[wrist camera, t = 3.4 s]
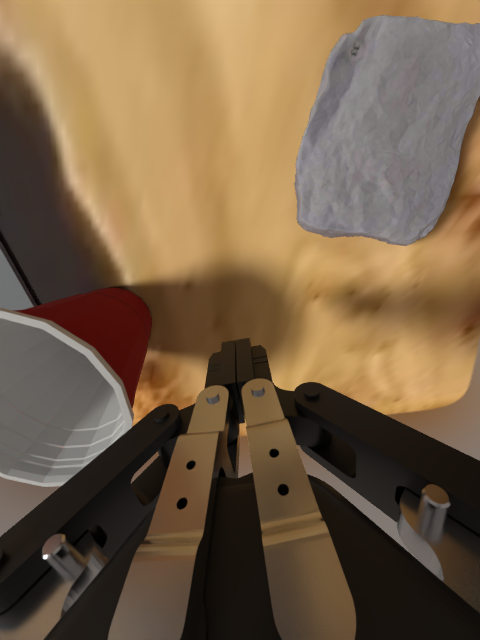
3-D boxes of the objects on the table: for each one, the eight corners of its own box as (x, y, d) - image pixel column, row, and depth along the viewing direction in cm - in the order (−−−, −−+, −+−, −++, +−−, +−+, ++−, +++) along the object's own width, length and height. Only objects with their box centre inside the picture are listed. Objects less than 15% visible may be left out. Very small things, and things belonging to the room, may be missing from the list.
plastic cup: (107, 225, 20) (-47, 257, 9) (203, 321, 23) (177, 425, 13) (29, 309, 23) (-160, 411, 12) (126, 382, 26) (51, 512, 15)
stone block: (286, 233, 22) (408, 244, 21) (285, 237, 18) (440, 252, 17) (311, 51, 18) (471, 51, 16) (318, -2, 13) (538, -9, 12)
